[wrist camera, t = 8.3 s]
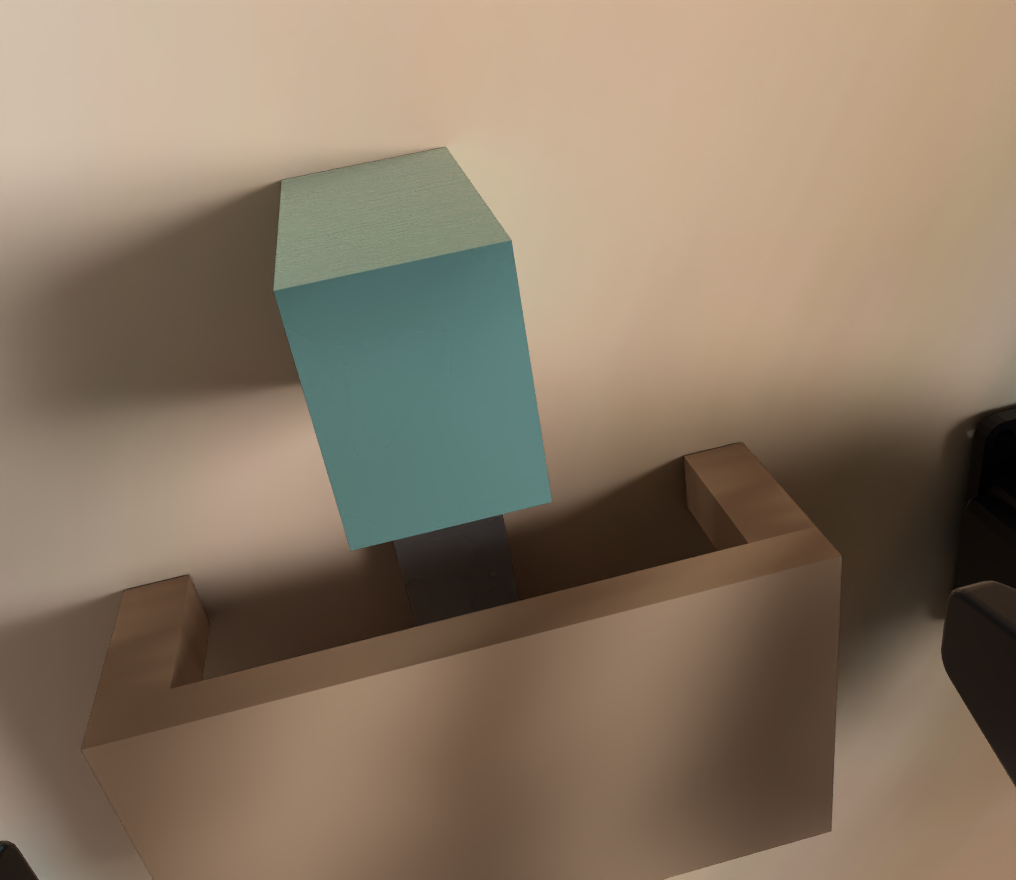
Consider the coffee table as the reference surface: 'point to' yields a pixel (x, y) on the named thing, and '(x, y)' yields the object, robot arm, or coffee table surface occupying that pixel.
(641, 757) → the low stand
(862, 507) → the coffee table surface
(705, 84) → the coffee table surface
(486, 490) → the teal block
